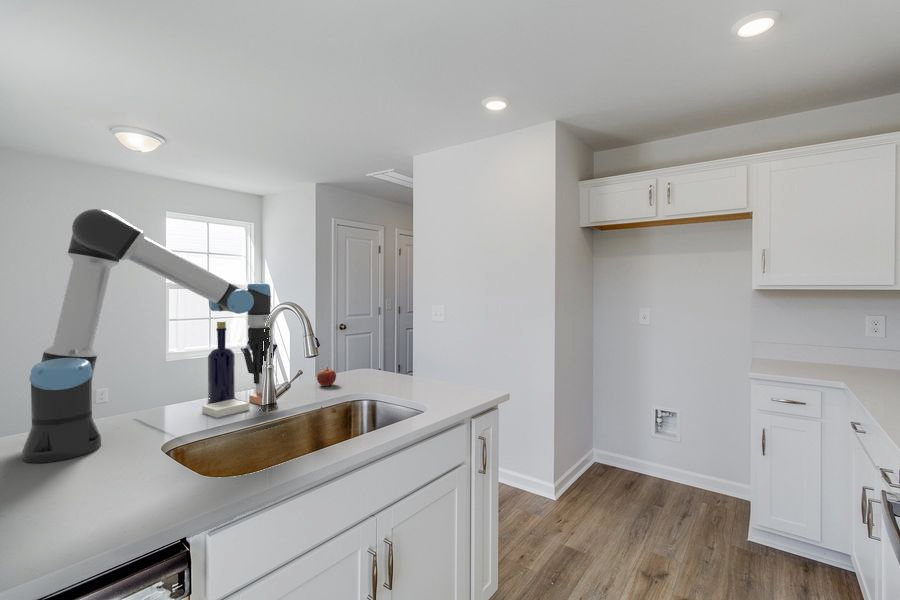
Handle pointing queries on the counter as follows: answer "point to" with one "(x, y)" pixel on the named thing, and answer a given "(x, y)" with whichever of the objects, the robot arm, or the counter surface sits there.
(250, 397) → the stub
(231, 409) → the cream rectangular slab
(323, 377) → the apple
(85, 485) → the counter surface
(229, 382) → the bottle
